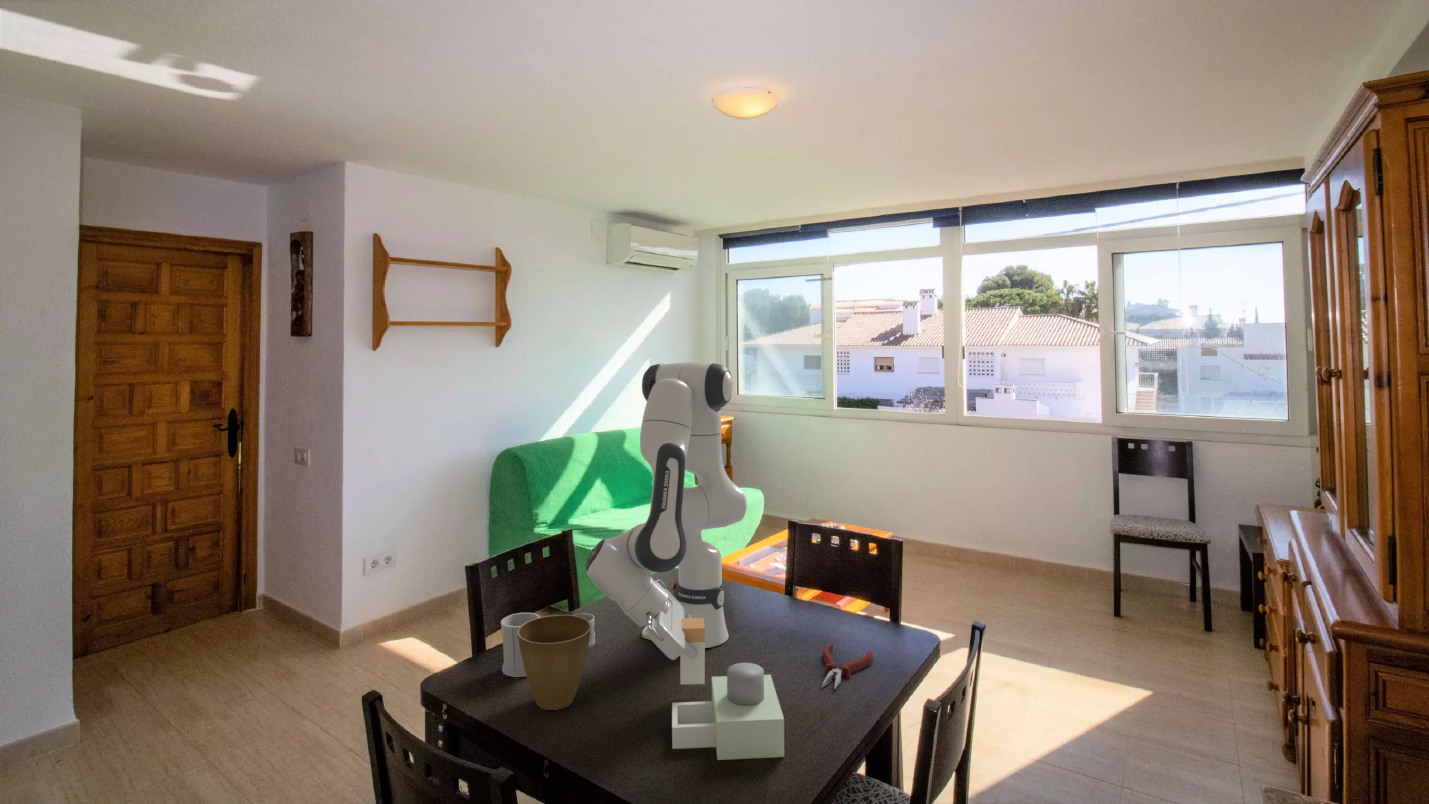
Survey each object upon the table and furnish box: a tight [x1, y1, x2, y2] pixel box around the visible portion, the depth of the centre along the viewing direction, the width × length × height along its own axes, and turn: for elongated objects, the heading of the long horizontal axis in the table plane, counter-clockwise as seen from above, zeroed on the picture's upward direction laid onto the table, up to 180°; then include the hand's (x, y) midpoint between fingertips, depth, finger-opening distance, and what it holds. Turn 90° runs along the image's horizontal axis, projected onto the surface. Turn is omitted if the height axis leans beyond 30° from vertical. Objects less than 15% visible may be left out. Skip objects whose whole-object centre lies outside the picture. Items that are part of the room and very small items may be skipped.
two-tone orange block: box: [679, 618, 706, 685], centre depth 141 cm, size 5×5×12 cm
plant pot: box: [517, 614, 591, 710], centre depth 140 cm, size 15×15×16 cm
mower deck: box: [671, 662, 785, 761], centre depth 127 cm, size 20×17×12 cm
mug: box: [572, 612, 596, 649], centre depth 170 cm, size 10×7×7 cm
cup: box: [500, 612, 541, 677], centre depth 154 cm, size 10×9×12 cm
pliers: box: [821, 643, 874, 690], centre depth 153 cm, size 12×20×3 cm, turn 155°
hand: (695, 648), depth 141 cm, fingers closed on two-tone orange block, 5 cm apart
